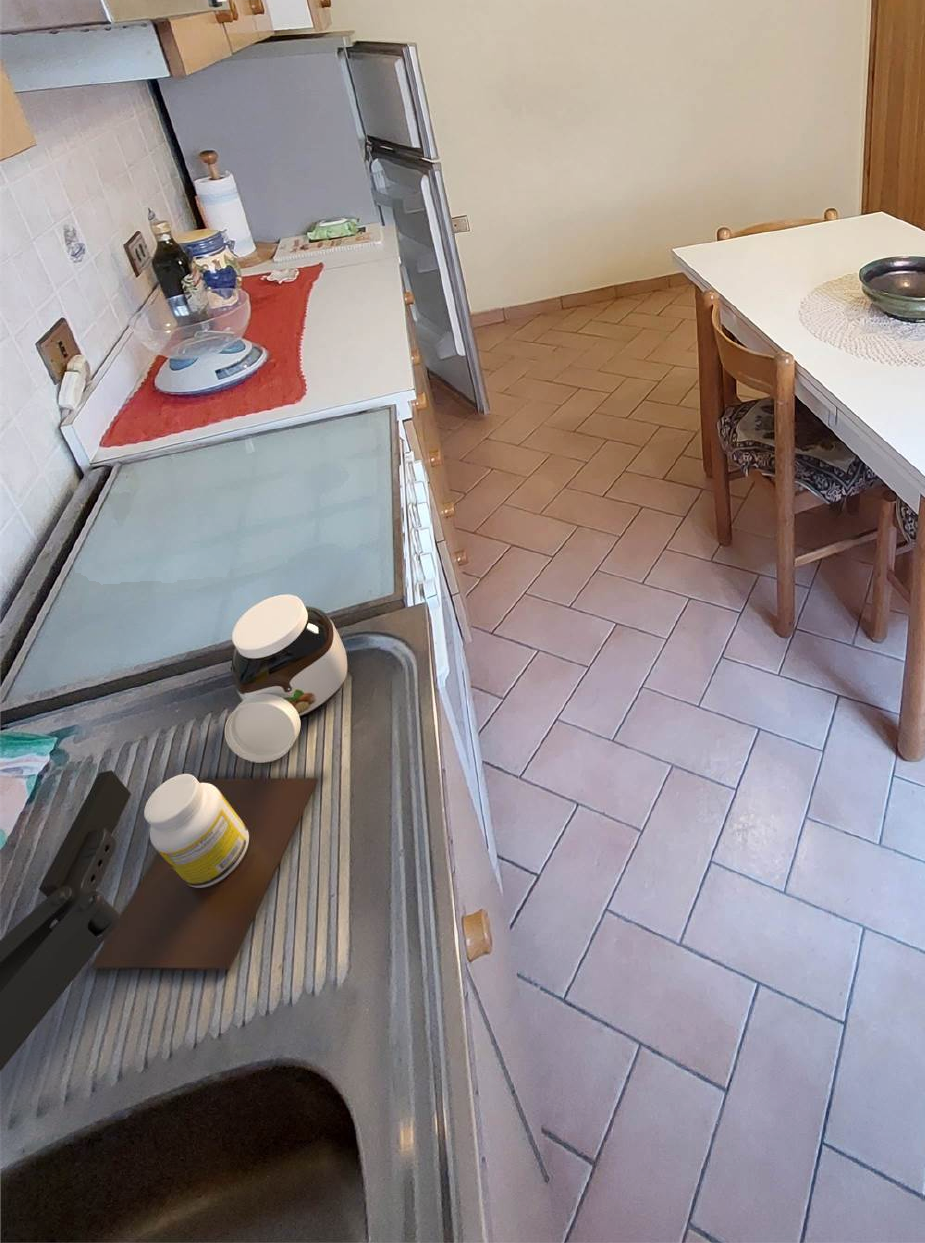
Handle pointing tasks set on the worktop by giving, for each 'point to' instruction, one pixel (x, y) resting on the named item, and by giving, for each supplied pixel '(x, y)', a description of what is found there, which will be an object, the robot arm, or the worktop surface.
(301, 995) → the worktop surface
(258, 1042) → the worktop surface
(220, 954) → the runner mat
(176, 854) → the supplement bottle
